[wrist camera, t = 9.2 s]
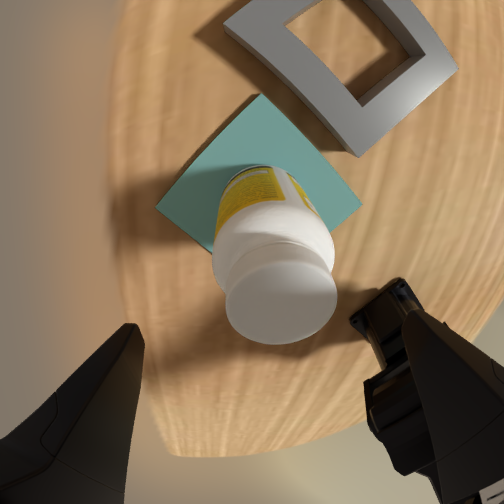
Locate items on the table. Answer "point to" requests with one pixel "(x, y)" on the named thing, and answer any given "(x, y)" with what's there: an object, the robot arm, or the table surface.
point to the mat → (250, 154)
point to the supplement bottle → (273, 257)
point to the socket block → (328, 85)
